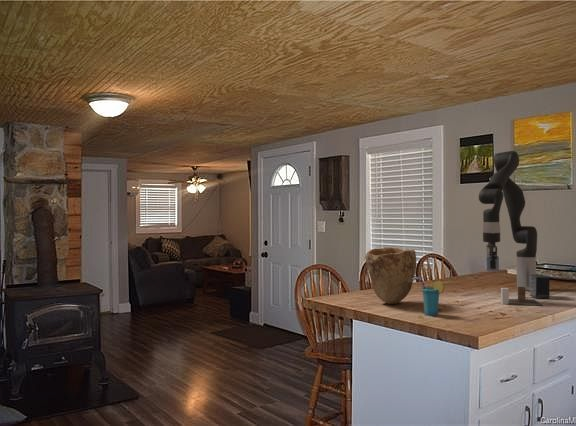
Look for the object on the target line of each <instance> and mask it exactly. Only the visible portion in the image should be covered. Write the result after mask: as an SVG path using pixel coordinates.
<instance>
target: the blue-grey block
mask: <svg viewBox="0 0 576 426" xmlns="http://www.w3.org/2000/svg"><path fill="white" fill-rule="evenodd" d="M492 257H495V256H492ZM484 270H485V271H488V272H491V271H493V272H499V271H500V257H499V255H497V260H496V269H491V268H490V256H488V255H487V254H486V255H484Z"/></svg>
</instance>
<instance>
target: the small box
mask: <svg viewBox="0 0 576 426" xmlns="http://www.w3.org/2000/svg"><path fill="white" fill-rule="evenodd" d="M529 293H530V294H529V296H530V297H532V298H534V300H550V276H546V275H544V274H536V275H534V274H530V290H529Z"/></svg>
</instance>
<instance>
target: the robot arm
mask: <svg viewBox="0 0 576 426" xmlns="http://www.w3.org/2000/svg"><path fill="white" fill-rule="evenodd" d="M493 164H494V168H495V173H493V175H492V176H491V177H490V179H489V181H488V183H487V184H485V185H484V186H483V187H482V188H481V189H480V191H479V193H478V200H479V202H480V203H481V204H482V205H493V206H492V207H491V208H488V209H485V210H484V209H483V212H482V216H483V218H482V220H483V222H482V224H483V225H482V241H483V243H487V245H486V246H485V247H486V255H488V256H490V268H491V269H496V260H497V256H498V246H497V245H496V243H500V242H501V225H500V211H501V208H502V207H501V206H502V204H503V200H504V201H505V205H506V208H507V213H508V216H509V221H510V228H511V233H512V234H511V235H512V238H513V241H514V242H515V243H517V244H523V245H526V246H525V247H523V249H520V250H517V251H516V289H517V290H518V287H525V291H530V274H534V275H537V249H538V247H537V246H538V230H537V228H536V227H535V226H532V225H531V226H529V225H522V224H521V215H522V214H523V211H524V210H525V207H526V199H525V195H524V191H523V190H522V188H521V187H520V186H519V185H518V184H517V183H516V182H515V181H514V180H512V178H510V177H511V176H512V174H513V173H514V172H515V171H516V170H517V168H519V165H520V156H519V154H518V152H517V151H515V150H509V151H503V152H497V153H495V154H494V156H493ZM492 256H495V257H492Z"/></svg>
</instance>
